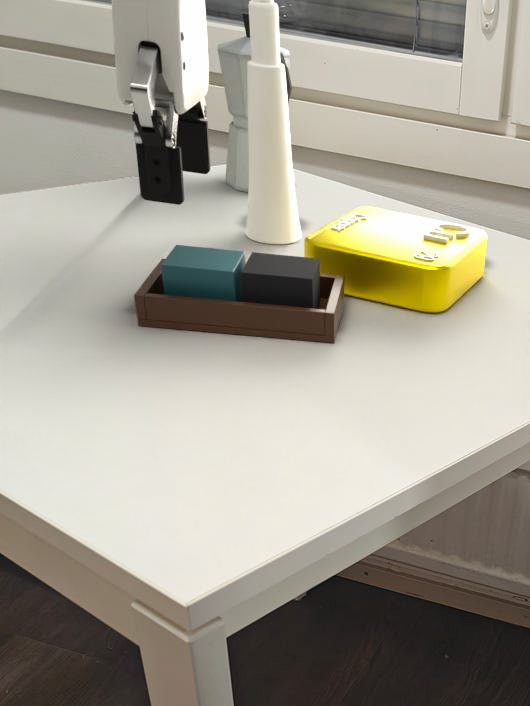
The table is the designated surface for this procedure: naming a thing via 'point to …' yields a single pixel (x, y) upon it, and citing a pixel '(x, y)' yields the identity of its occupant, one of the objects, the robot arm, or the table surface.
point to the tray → (241, 312)
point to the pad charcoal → (281, 280)
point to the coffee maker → (241, 103)
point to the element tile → (400, 257)
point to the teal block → (203, 273)
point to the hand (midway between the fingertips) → (177, 185)
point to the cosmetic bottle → (269, 134)
